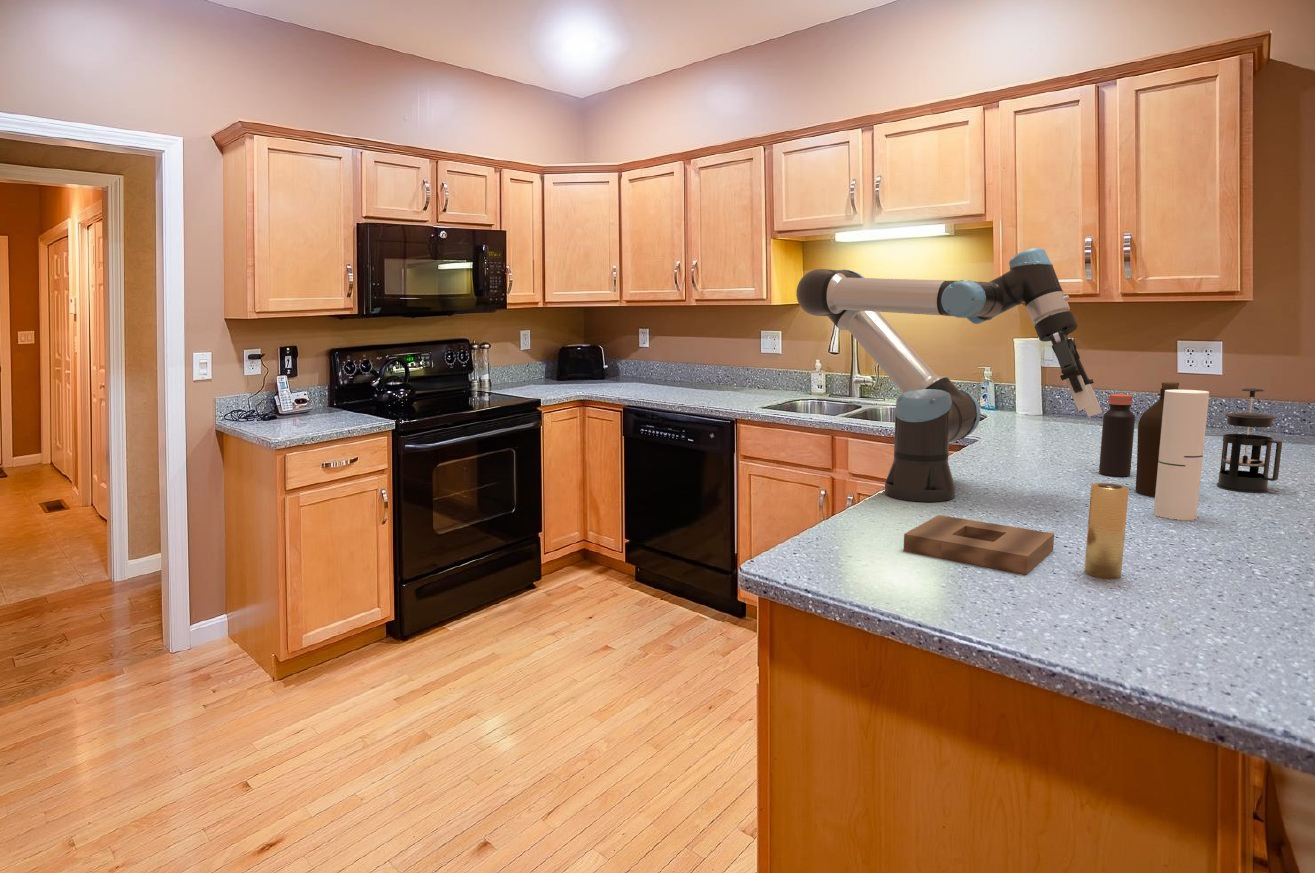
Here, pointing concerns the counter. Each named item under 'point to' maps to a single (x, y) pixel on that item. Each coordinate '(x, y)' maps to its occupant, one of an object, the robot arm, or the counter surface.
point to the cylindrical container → (1181, 454)
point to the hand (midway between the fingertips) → (1090, 411)
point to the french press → (1246, 479)
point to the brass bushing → (1106, 530)
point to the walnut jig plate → (980, 543)
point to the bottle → (1117, 437)
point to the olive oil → (1150, 444)
